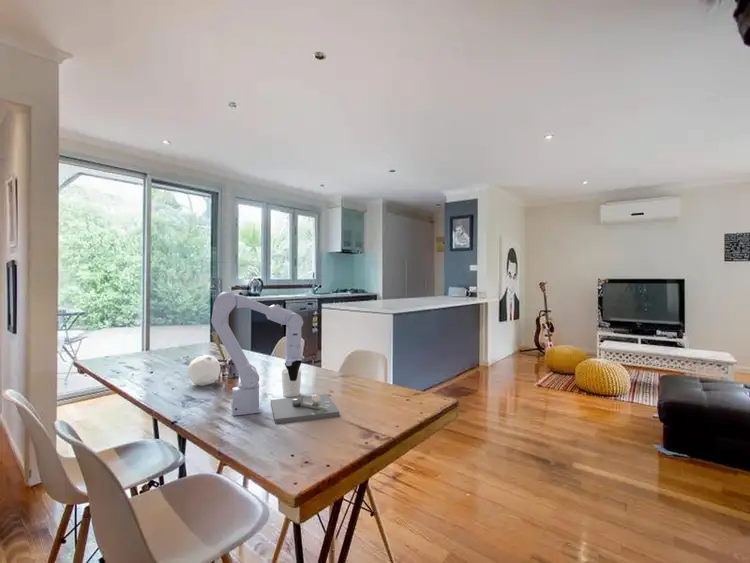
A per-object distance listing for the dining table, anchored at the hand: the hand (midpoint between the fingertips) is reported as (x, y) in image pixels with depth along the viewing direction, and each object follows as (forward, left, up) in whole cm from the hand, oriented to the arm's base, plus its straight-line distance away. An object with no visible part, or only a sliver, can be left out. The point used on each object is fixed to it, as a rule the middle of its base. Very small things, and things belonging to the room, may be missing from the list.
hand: (293, 380), depth 142 cm
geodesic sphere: (-34, +39, -10) cm, 53 cm away
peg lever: (+5, -9, -8) cm, 12 cm away
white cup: (+1, +13, -10) cm, 16 cm away
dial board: (+3, -6, -9) cm, 12 cm away
